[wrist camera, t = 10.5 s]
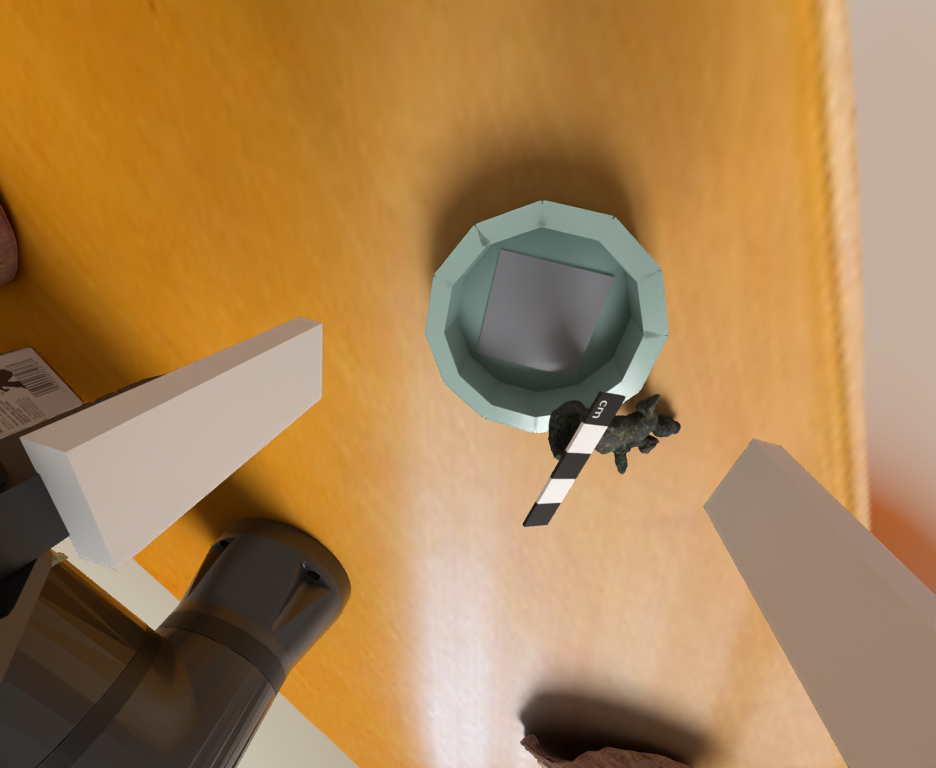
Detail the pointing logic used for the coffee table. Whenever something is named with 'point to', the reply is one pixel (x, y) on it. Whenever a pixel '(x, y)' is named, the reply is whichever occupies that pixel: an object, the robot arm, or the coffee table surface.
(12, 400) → the coffee box
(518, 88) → the coffee table surface
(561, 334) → the bowl
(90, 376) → the coffee table surface
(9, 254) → the decorative stone
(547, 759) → the rock
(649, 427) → the figurine
